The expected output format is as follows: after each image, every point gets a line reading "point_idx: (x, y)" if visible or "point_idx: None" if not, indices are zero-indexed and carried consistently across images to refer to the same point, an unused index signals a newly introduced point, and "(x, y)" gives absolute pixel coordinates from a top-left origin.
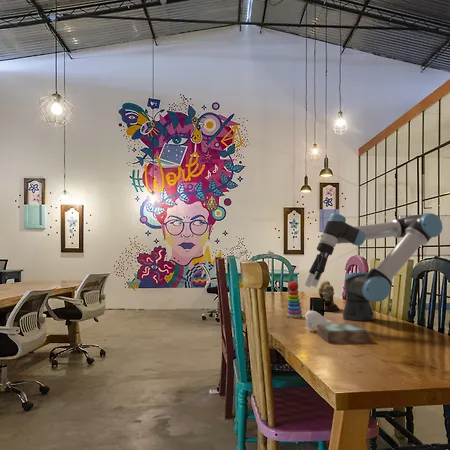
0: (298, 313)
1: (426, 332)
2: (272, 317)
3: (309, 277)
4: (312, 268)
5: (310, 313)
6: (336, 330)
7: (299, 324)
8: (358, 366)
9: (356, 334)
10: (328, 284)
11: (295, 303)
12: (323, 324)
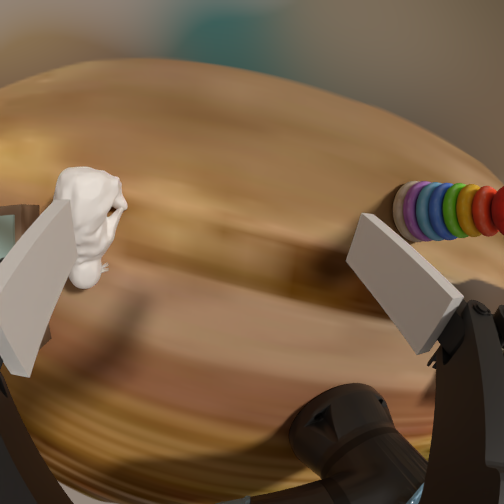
0: (404, 220)
1: (109, 489)
2: (409, 126)
3: (409, 277)
4: (476, 359)
5: (56, 186)
6: None
7: (249, 180)
8: None
9: None
10: None
11: (435, 209)
12: (7, 226)
